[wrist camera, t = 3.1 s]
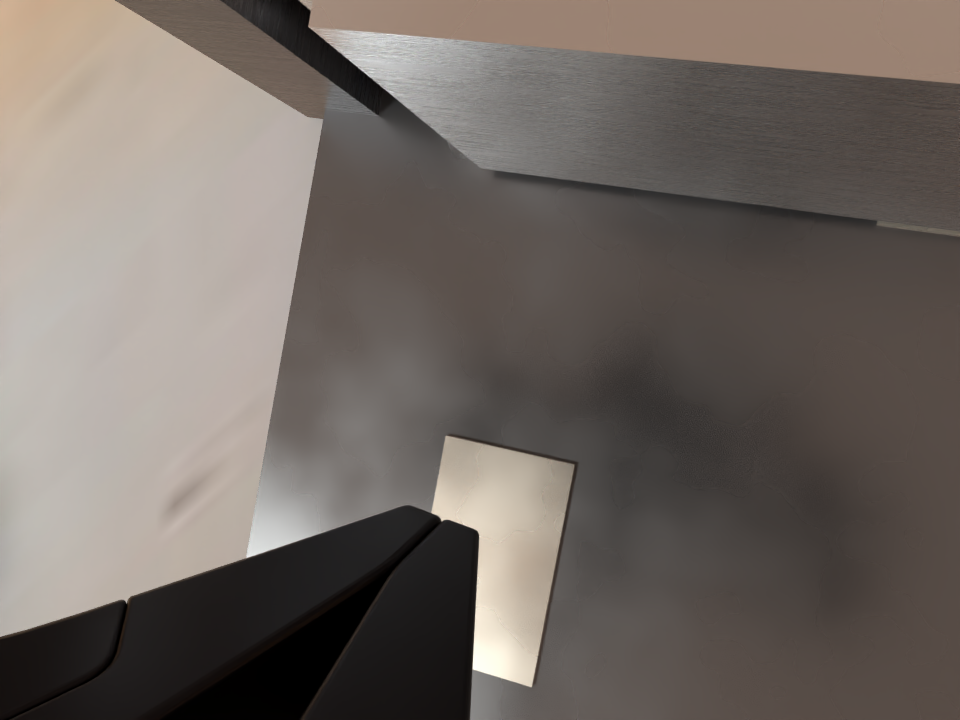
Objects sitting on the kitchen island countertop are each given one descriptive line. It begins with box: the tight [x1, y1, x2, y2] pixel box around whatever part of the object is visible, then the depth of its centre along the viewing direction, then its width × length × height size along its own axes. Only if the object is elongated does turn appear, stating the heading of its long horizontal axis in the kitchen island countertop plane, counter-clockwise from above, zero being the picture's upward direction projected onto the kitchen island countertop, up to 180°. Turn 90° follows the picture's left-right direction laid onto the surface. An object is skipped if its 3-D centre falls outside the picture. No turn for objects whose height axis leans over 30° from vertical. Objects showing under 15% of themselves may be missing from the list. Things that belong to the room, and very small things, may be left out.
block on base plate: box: [115, 0, 960, 720], centre depth 14 cm, size 20×19×10 cm
